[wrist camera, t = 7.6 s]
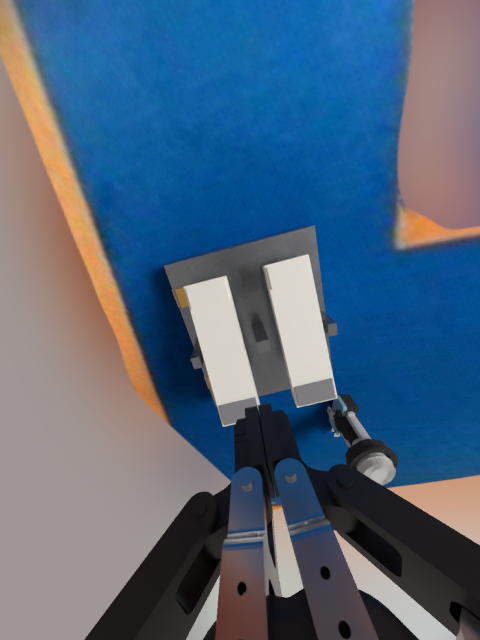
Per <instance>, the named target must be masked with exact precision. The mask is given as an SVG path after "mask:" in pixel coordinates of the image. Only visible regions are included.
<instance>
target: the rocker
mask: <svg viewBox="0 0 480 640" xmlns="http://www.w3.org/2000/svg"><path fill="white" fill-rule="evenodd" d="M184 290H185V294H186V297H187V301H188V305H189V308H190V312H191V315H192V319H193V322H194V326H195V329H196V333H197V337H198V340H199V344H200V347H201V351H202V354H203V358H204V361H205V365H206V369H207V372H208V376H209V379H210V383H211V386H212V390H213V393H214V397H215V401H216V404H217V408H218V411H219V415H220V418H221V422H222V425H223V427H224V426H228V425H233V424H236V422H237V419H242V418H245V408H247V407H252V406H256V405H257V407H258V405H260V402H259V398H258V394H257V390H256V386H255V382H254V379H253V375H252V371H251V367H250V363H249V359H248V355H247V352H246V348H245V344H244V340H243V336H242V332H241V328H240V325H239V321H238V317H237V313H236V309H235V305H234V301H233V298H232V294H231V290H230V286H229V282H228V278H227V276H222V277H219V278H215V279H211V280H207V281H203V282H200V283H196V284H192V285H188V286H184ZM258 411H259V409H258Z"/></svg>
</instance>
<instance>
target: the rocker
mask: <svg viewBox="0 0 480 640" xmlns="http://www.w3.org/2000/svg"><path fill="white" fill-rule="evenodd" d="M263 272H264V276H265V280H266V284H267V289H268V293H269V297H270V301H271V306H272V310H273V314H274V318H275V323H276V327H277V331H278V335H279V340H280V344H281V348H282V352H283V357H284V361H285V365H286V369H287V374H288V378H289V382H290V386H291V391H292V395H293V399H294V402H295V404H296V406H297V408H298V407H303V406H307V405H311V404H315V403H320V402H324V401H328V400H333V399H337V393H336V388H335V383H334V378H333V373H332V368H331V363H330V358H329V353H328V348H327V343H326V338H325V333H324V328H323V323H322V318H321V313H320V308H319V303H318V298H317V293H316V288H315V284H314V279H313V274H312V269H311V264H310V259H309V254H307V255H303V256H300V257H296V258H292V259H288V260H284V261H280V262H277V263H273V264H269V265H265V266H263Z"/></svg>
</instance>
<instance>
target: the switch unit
mask: <svg viewBox="0 0 480 640" xmlns="http://www.w3.org/2000/svg"><path fill="white" fill-rule="evenodd" d="M307 254H309V259H310V264H311V269H312V274H313V279H314V284H315V288H316V293H317V298H318V303H319V308H320V313H321V318H322V323H323V328H324V333H325V338H326V343H327V348H328V353H329V358H330V363H331V355H330V347H329V339H328V336H333V335H337V324H336V322H335V321H334V320H333V319H331V318H330V317H329V316H328V315H327V314H326V313H325V306H324V298H323V290H322V282H321V274H320V265H319V257H318V249H317V241H316V233H315V225H312V226H303V227H299V228H296V229H292V230H288V231H285V232H281V233H277V234H273V235H270V236H266V237H262V238H259V239H255V240H251V241H247V242H244V243H240V244H236V245H232V246H229V247H225V248H221V249H218V250H214V251H210V252H206V253H203V254H199V255H195V256H192V257H188V258H184V259H180V260H177V261H173V262H170V263H168V264H166V265H164V268H165V271H166V274H167V276H168V279H169V282H170V284H171V287H172V292H173V295H174V297H175V300H176V303H177V305H178V307H179V309H180V311H181V314H182V317H183V319H184V322H185V325H186V327H187V330H188V333H189V336H190V338H191V341H192V344H193V346H194V348H193V351H192V355H191V358H190V359H191V362H192V365H193V367H194V369H198V368H202V371H203V373H204V378H205V381H206V383H207V386H208V389H209V390H210V392H211V395H212V398H213V400H214V403H215V406H217V404H216V401H215V397H214V393H213V390H212V386H211V383H210V379H209V376H208V372H207V369H206V365H205V361H204V358H203V354H202V351H201V347H200V344H199V340H198V337H197V333H196V329H195V326H194V322H193V319H192V315H191V312H190V308H189V305H188V301H187V297H186V294H185V290H184V286H188V285H192V284H196V283H200V282H203V281H207V280H211V279H215V278H219V277H222V276H227V278H228V282H229V286H230V290H231V294H232V298H233V301H234V305H235V309H236V313H237V317H238V321H239V325H240V328H241V332H242V336H243V340H244V344H245V348H246V352H247V355H248V359H249V363H250V367H251V371H252V375H253V379H254V382H255V386H256V390H257V394H258V396H262V395H266V394H271V393H275V392H279V391H283V390H287V389H291V386H290V382H289V378H288V374H287V369H286V365H285V361H284V357H283V352H282V348H281V344H280V340H279V335H278V331H277V327H276V323H275V318H274V314H273V310H272V306H271V301H270V297H269V293H268V289H267V284H266V280H265V276H264V272H263V266H265V265H269V264H273V263H277V262H280V261H284V260H288V259H292V258H296V257H300V256H303V255H307ZM331 368H332V363H331ZM332 373H333V372H332Z"/></svg>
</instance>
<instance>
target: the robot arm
mask: <svg viewBox="0 0 480 640" xmlns="http://www.w3.org/2000/svg"><path fill="white" fill-rule="evenodd" d="M258 409H259V411H258ZM234 443H235V444H234V445H235V475H234V476H233V478H232V482H231V483H230V484H229V485H228V486H227V487H226V488H225V489H224V490H222V491H221V492H219V493H217V494H215V495H214V496H213V495H212V494H210V493H209V492H199V493H197V494H195V495H194V496H193V497H191V499H190V500H189V501H188V502H187V503H186V505H185V506H184V508H183V509H182V510H181V511H180V513H179V514H178V516H177V517H176V518H175V519H174V521H173V522H172V523H171V525H170V526H169V527H168V529H167V530H166V531H165V533H164V534H163V535H162V537H161V538H160V540H159V541H158V542H157V544H156V545H155V546H154V548H153V549H152V550H151V552H150V553H149V554H148V556H147V557H146V558H145V560H144V561H143V562H142V564H141V565H140V566H139V568H138V569H137V570H136V572H135V573H134V574H133V576H132V577H131V578H130V580H129V581H128V582H127V584H126V585H125V586H124V588H123V589H122V590H121V592H120V593H119V594H118V596H117V597H116V598H115V600H114V601H113V602H112V604H111V605H110V606H109V608H108V609H107V610H106V612H105V613H104V615H103V616H102V617H101V618H100V620H99V621H98V622H97V624H96V625H95V626H94V628H93V629H92V630H91V632H90V633H89V634H88V636H87V637H86V638H85V640H186V638H187V636H188V634H189V632H190V630H191V628H192V626H193V624H194V623H195V621H196V619H197V617H198V615H199V613H200V611H201V609H202V607H203V605H204V603H205V602H206V600H207V597H208V596H209V594H210V592H211V590H212V588H213V586H214V585H215V583H216V581H217V579H218V577H219V575H220V583H219V596H218V609H217V620H216V621H215V622H214V624H213V625H212V626H211V628H210V629H209V631H208V632H207V634H206V636H205V637H204V639H203V640H419V639H418V638H417V637H416V636H415V635H414V634H413V633H412V632H411V631H410V630H409V629H408V628H407V627H406V626H405V625H404V624H403V623H402V622H401V621H400V620H399V619H398V618H397V617H396V616H395V615H394V614H393V613H392V612H391V611H390V610H389V609H388V608H387V607H386V606H384V605H383V604H382V603H381V602H379V601H378V600H377V599H375V598H373V597H372V596H371V595H369V594H367V593H365V592H363V591H361V590H358V589H357V586H356V584H355V581H354V579H353V576H352V574H351V572H350V569H349V567H348V564H347V562H346V560H345V557H344V555H343V552H342V550H341V548H340V545H339V543H338V541H337V538H336V536H335V534H334V531H333V530H335V531H337V532H338V534H339V535H340V536H341V537H342V538H344V539H345V540H346V541H347V542H348V543H349V544H350V545H352V546H353V547H354V548H355V549H356V550H357V551H358V552H360V553H361V554H362V555H363V556H364V557H365V558H367V559H368V560H369V561H370V562H371V563H372V564H373V565H375V566H376V567H377V568H378V569H379V570H380V571H382V572H383V573H384V574H385V575H386V576H387V577H388V578H390V579H391V580H392V581H393V582H394V583H395V584H396V585H398V586H399V587H400V588H401V589H402V590H403V591H405V592H406V593H407V594H408V595H409V596H410V597H411V598H413V599H414V600H415V601H416V602H417V603H418V604H419V605H421V606H422V607H423V608H424V609H425V610H426V611H428V612H429V613H430V614H431V615H432V616H433V617H434V618H436V619H437V620H438V621H439V622H440V623H441V624H442V625H444V626H445V627H446V628H447V629H448V630H449V631H451V632H452V633H453V634H454V635H455V636H456V637H457V638H456V639H457V640H480V545H478V544H476V543H475V542H473V541H472V540H470V539H468V538H467V537H465V536H464V535H462V534H460V533H459V532H457V531H455V530H454V529H452V528H450V527H449V526H447V525H446V524H444V523H442V522H441V521H439V520H437V519H436V518H434V517H433V516H431V515H429V514H428V513H426V512H424V511H423V510H421V509H419V508H418V507H416V506H414V505H413V504H411V503H410V502H408V501H406V500H405V499H403V498H402V497H400V496H398V495H397V494H395V493H393V492H392V491H390V490H388V489H387V488H385V487H384V486H382V485H380V484H379V483H377V482H375V481H374V480H372V479H371V478H369V477H367V476H366V475H364V474H362V473H361V472H359V471H357V470H356V469H354V468H352V467H351V466H348V465H344V464H339V465H335V466H333V467H331V468H330V469H329V471H320V470H315V469H312V468H310V467H308V466H307V465H306V464H305V463H304V462H303V461H302V459H301V457H300V454H299V451H298V448H297V445H296V442H295V439H294V436H293V433H292V429H291V426H290V423H289V420H288V417H287V415H286V414H285V413H284V412H283V411H282V410H279V411H274V412H272V408H271V404H270V403H265V404H260V405H258V407H257V405H256V406H252V407H247V408H245V418H242V419H237V422H236V424H235V426H234ZM272 481H273V482H272ZM273 485H274V487H273ZM274 489H275V493H276V497H279V496H280V500H281V504H282V508H283V511H284V515H285V519H286V523H287V527H288V530H289V534H290V538H291V542H292V546H293V550H294V553H295V557H296V561H297V565H298V568H299V572H300V576H301V580H302V584H303V587H304V589H302V590H300V591H299V592H297V593H296V594H294V595H292V596H291V597H288V598H285V597H282V594H281V587H280V582H279V576H278V566H277V556H276V544H275V533H274V522H273V515H272V514H273V511H272V504H271V498H275V493H274Z"/></svg>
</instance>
